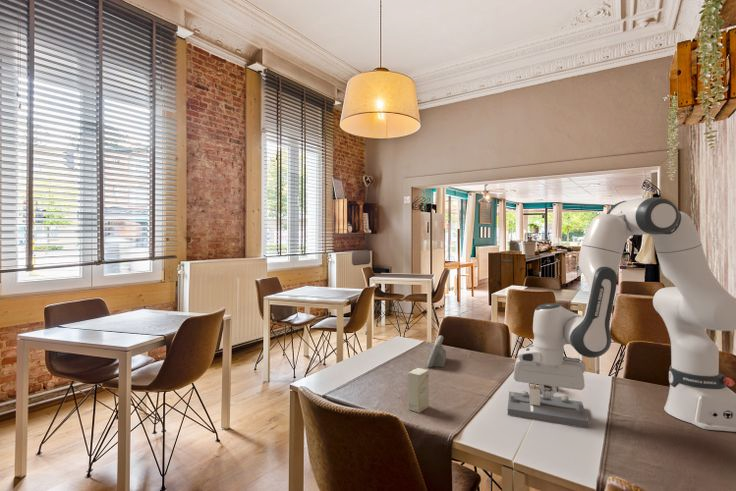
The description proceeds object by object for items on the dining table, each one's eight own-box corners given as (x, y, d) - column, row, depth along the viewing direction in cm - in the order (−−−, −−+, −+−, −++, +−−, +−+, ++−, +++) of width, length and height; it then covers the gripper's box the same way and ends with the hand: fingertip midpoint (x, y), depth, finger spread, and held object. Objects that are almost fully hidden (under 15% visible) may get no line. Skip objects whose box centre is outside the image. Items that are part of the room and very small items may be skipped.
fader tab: (539, 400, 124) (539, 384, 124) (539, 405, 120) (540, 389, 120) (529, 399, 125) (529, 383, 125) (529, 404, 121) (529, 388, 121)
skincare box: (419, 413, 120) (419, 375, 120) (407, 409, 123) (407, 372, 123) (429, 406, 125) (429, 369, 125) (417, 402, 128) (417, 366, 128)
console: (581, 407, 124) (581, 395, 123) (588, 428, 111) (588, 414, 111) (509, 397, 132) (509, 385, 132) (507, 414, 119) (507, 402, 119)
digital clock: (432, 356, 177) (432, 333, 177) (451, 359, 173) (451, 336, 172) (419, 367, 163) (419, 342, 163) (439, 370, 159) (439, 345, 158)
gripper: (584, 356, 119) (583, 399, 120) (514, 348, 127) (513, 389, 128) (587, 362, 114) (586, 408, 114) (513, 354, 121) (513, 397, 122)
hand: (547, 398), depth 121 cm, fingers closed
